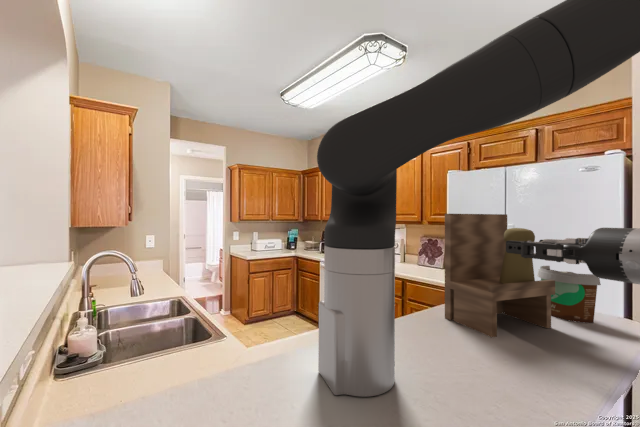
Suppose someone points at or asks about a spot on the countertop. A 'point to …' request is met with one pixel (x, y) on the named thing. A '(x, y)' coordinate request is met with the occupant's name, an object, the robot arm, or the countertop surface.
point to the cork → (517, 259)
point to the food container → (572, 294)
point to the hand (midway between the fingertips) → (524, 245)
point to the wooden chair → (487, 277)
